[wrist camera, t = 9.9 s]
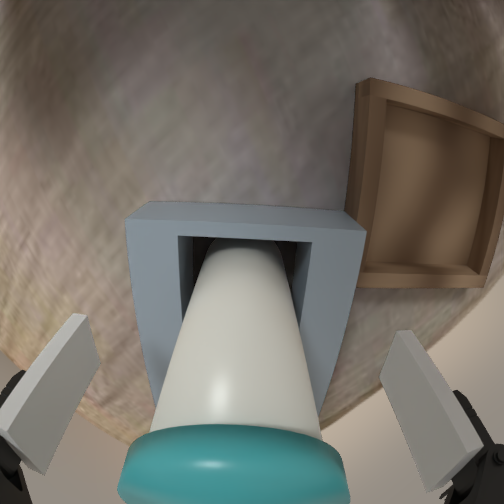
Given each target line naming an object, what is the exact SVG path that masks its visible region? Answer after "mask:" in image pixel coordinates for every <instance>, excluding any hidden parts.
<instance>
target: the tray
mask: <svg viewBox="0 0 504 504" xmlns="http://www.w3.org/2000/svg"><path fill="white" fill-rule="evenodd" d="M344 211H345V212H346V213H347V214H348V215H349V216H350V217H351V218H353V219H354V220H355V221H356V222H357V223H358V224H359V225H360V226H362V227H363V228H364V229H365V230H366V231H367V233H366V239H365V244H364V250H363V255H362V260H361V265H360V270H359V275H358V279H357V284H356V288H483V287H484V285H485V282H486V279H487V276H488V273H489V269H490V266H491V263H492V260H493V256H494V253H495V249H496V245H497V242H498V238H499V234H500V229H501V225H502V221H503V216H504V124H503V123H500V122H498V121H496V120H494V119H492V118H490V117H488V116H485V115H483V114H481V113H479V112H476V111H474V110H472V109H469V108H467V107H464V106H462V105H459V104H456V103H454V102H451V101H449V100H446V99H443V98H440V97H437V96H434V95H431V94H428V93H425V92H422V91H419V90H416V89H412V88H409V87H406V86H402V85H398V84H395V83H391V82H387V81H383V80H379V79H375V78H371V77H370V78H368V79H366V80H363V81H361V82H359V83H356V89H355V108H354V123H353V136H352V148H351V158H350V168H349V177H348V186H347V194H346V202H345V209H344Z"/></svg>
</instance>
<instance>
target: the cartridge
mask: <svg viewBox="0 0 504 504" xmlns="http://www.w3.org/2000/svg"><path fill="white" fill-rule="evenodd" d="M117 491H118V494H119V495H120V497H121V498H122V499H123V500H124V501H125V502H126V503H127V504H349V503H350V494H349V489H348V485H347V480H346V475H345V471H344V467H343V462H342V458H341V456H340V454H339V453H338V452H337V451H336V450H335V449H334V448H333V447H332V446H330V445H328V444H327V443H325V442H323V441H322V436H321V431H320V426H319V421H318V416H317V411H316V406H315V401H314V396H313V391H312V387H311V382H310V377H309V372H308V368H307V363H306V359H305V354H304V349H303V345H302V340H301V336H300V332H299V327H298V323H297V318H296V314H295V310H294V305H293V301H292V297H291V292H290V288H289V284H288V280H287V276H286V271H285V267H284V263H283V259H282V255H281V252H280V250H279V248H278V246H277V245H276V244H275V242H274V241H273V240H261V239H242V238H221V237H217V238H216V239H215V240H214V241H213V242H212V244H211V245H210V247H209V248H208V250H207V253H206V256H205V259H204V261H203V264H202V267H201V270H200V273H199V276H198V279H197V282H196V284H195V287H194V290H193V293H192V296H191V299H190V302H189V305H188V308H187V311H186V314H185V317H184V320H183V323H182V326H181V329H180V332H179V335H178V339H177V342H176V345H175V348H174V351H173V354H172V358H171V361H170V364H169V367H168V370H167V374H166V377H165V380H164V384H163V387H162V390H161V394H160V397H159V400H158V404H157V407H156V411H155V414H154V418H153V421H152V425H151V428H150V432H149V433H147V434H145V435H143V436H141V437H139V438H137V439H136V440H135V441H134V442H133V443H132V444H131V446H130V447H129V450H128V453H127V456H126V459H125V463H124V466H123V470H122V473H121V477H120V480H119V483H118V488H117Z"/></svg>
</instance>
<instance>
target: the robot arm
mask: <svg viewBox="0 0 504 504" xmlns="http://www.w3.org/2000/svg"><path fill="white" fill-rule="evenodd" d="M100 364H101V363H100V360H99V356H98V353H97V350H96V346H95V343H94V339H93V336H92V332H91V328H90V324H89V320H88V316H87V315H82V314H76V313H73V314H72V315H71V316H70V317H69V318H68V320H67V321H66V322H65V323H64V324H63V326H62V327H61V328H60V329H59V331H58V332H57V333H56V334H55V335H54V337H53V338H52V339H51V340H50V342H49V343H48V344H47V345H46V347H45V348H44V349H43V350H42V352H41V353H40V354H39V356H38V357H37V358H36V360H35V361H34V362H33V363H32V365H31V366H30V367H29V369H28V370H27V371H24V370H21V371H20V372H18V373H17V374H16V375H14V376H13V377H12V378H11V380H10V381H9V382H8V384H7V385H6V387H5V388H4V389H3V390H2V392H1V395H0V504H32V501H31V498H30V495H29V492H28V489H27V485H26V482H25V478H24V475H23V471H22V469H21V467H20V465H19V464H20V462H21V460H22V461H23V462H24V463H25V465H27V467H28V468H30V469H32V470H34V471H36V472H38V473H40V474H42V475H45V474H46V471H47V469H48V467H49V464H50V462H51V460H52V458H53V456H54V453H55V451H56V449H57V447H58V445H59V443H60V441H61V439H62V436H63V434H64V432H65V430H66V428H67V426H68V424H69V422H70V420H71V418H72V416H73V414H74V412H75V410H76V408H77V406H78V405H79V403H80V401H81V399H82V397H83V395H84V393H85V391H86V389H87V388H88V386H89V384H90V382H91V380H92V378H93V376H94V375H95V373H96V371H97V369H98V367H99V366H100ZM379 379H380V381H381V383H382V385H383V387H384V390H385V392H386V394H387V396H388V399H389V401H390V403H391V405H392V408H393V410H394V412H395V414H396V417H397V419H398V422H399V424H400V427H401V429H402V431H403V433H404V436H405V439H406V441H407V444H408V446H409V449H410V451H411V454H412V456H413V459H414V461H415V464H416V467H417V469H418V472H419V474H420V477H421V480H422V482H423V485H424V488H425V491H426V493H427V492H430V491H433V490H436V489H439V488H441V487H443V486H444V485H445V484H447V482H449V481H450V480H452V482H453V485H452V486H451V487H450V488H449V489H447V490H446V491H445V492H444V493H443V494H441V496H440V498H439V499H442V498H443V497H444V496H446V495H447V494H448V495H447V497H446V499H445V503H444V504H504V445H503V444H495V443H494V442H493V441H492V439H491V437H490V435H489V434H488V432H487V430H486V428H485V427H484V425H483V424H482V422H481V420H480V419H479V417H478V416H477V414H476V412H475V410H474V409H472V406H471V404H470V402H469V401H468V399H467V398H466V397H465V396H464V395H463V394H462V393H461V392H459V391H458V390H455V391H452V390H451V389H450V387H449V385H448V384H447V382H446V381H445V379H444V378H443V376H442V375H441V373H440V372H439V370H438V369H437V367H436V366H435V364H434V363H433V361H432V359H431V358H430V357H429V355H428V354H427V352H426V351H425V349H424V348H423V346H422V345H421V343H420V342H419V340H418V339H417V338H416V336H415V335H414V333H413V332H412V330H397V331H396V333H395V336H394V339H393V342H392V345H391V347H390V350H389V353H388V355H387V358H386V360H385V363H384V365H383V368H382V370H381V373H380V375H379Z"/></svg>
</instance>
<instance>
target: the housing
mask: <svg viewBox="0 0 504 504" xmlns="http://www.w3.org/2000/svg"><path fill="white" fill-rule="evenodd" d="M125 229H126V241H127V251H128V261H129V270H130V278H131V286H132V293H133V300H134V306H135V313H136V319H137V324H138V330H139V336H140V341H141V346H142V351H143V356H144V361H145V365H146V370H147V374H148V379H149V383H150V387H151V391H152V395H153V399H154V403H155V407H157V404H158V400H159V397H160V394H161V390H162V387H163V384H164V380H165V377H166V374H167V370H168V367H169V364H170V361H171V358H172V354H173V351H174V348H175V345H176V342H177V339H178V335H179V332H180V329H181V326H182V323H183V320H184V317H185V314H186V311H187V308H188V305H189V302H190V299H191V296H192V293H193V290H194V278H193V236H199V237H221V238H242V239H261V240H280V241H297V250H296V258H295V267H294V275H293V283H292V291H291V297H292V301H293V305H294V310H295V314H296V318H297V323H298V327H299V332H300V336H301V340H302V345H303V349H304V354H305V359H306V363H307V368H308V372H309V377H310V382H311V387H312V391H313V396H314V401H315V406H316V411H317V416H319V414H320V411H321V408H322V405H323V402H324V399H325V396H326V393H327V390H328V387H329V384H330V381H331V378H332V374H333V371H334V368H335V365H336V361H337V358H338V354H339V351H340V347H341V344H342V340H343V337H344V333H345V329H346V325H347V321H348V318H349V314H350V309H351V305H352V301H353V297H354V293H355V288H356V284H357V279H358V275H359V270H360V265H361V260H362V255H363V250H364V244H365V239H366V233H367V231H366V230H365V229H364V228H363V227H362V226H360V225H359V224H358V223H357V222H356V221H355V220H354V219H353V218H351V217H350V216H349V215H348V214H347V213H346V212H345V211H336V210H324V209H312V208H298V207H283V206H267V205H249V204H227V203H201V202H162V201H149V202H148V203H146V204H145V205H143V206H142V207H141V208H139V209H138V210H136V211H135V212H134V213H132V214H131V215H130V216H128V217H127V218H126V219H125Z"/></svg>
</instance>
